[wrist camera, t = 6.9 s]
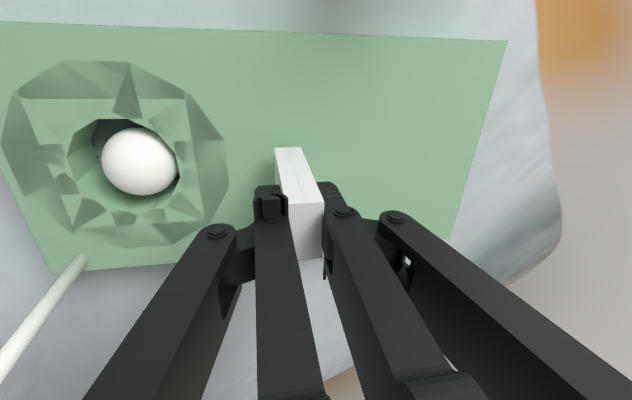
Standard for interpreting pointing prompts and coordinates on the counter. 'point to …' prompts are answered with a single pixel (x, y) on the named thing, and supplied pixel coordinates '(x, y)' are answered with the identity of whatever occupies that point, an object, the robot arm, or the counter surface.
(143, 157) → the ball
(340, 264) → the robot arm
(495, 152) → the counter surface
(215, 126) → the green
